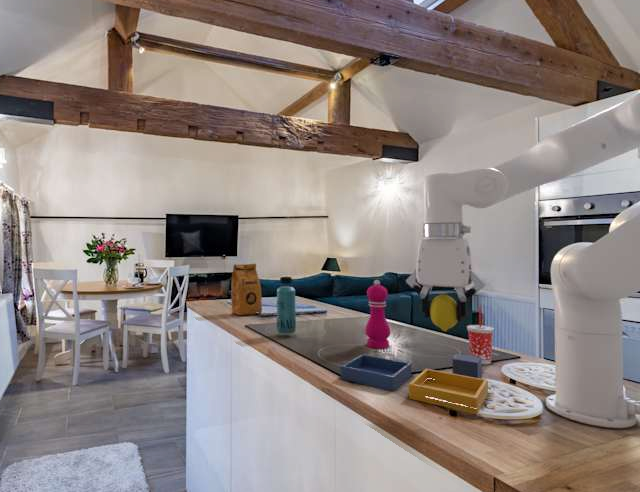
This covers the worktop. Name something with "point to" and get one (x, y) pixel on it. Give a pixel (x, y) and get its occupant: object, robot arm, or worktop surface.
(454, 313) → the lemon
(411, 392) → the mustard tray
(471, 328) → the beverage cup
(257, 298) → the coffee package
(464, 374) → the navy block
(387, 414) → the worktop surface
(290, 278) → the beverage bottle
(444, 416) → the worktop surface
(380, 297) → the pepper mill
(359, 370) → the blue tray
